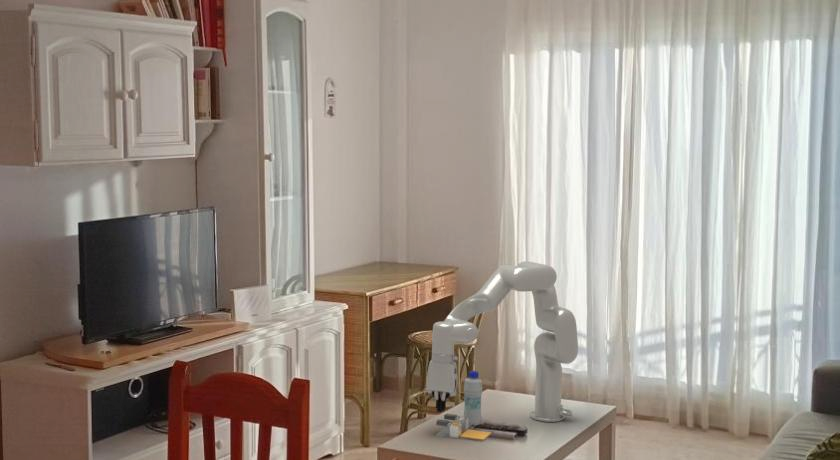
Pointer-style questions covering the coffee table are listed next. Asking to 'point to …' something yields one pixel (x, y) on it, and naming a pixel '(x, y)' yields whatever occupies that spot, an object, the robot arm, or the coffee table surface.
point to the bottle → (473, 398)
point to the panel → (447, 434)
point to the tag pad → (475, 434)
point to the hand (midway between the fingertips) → (440, 410)
